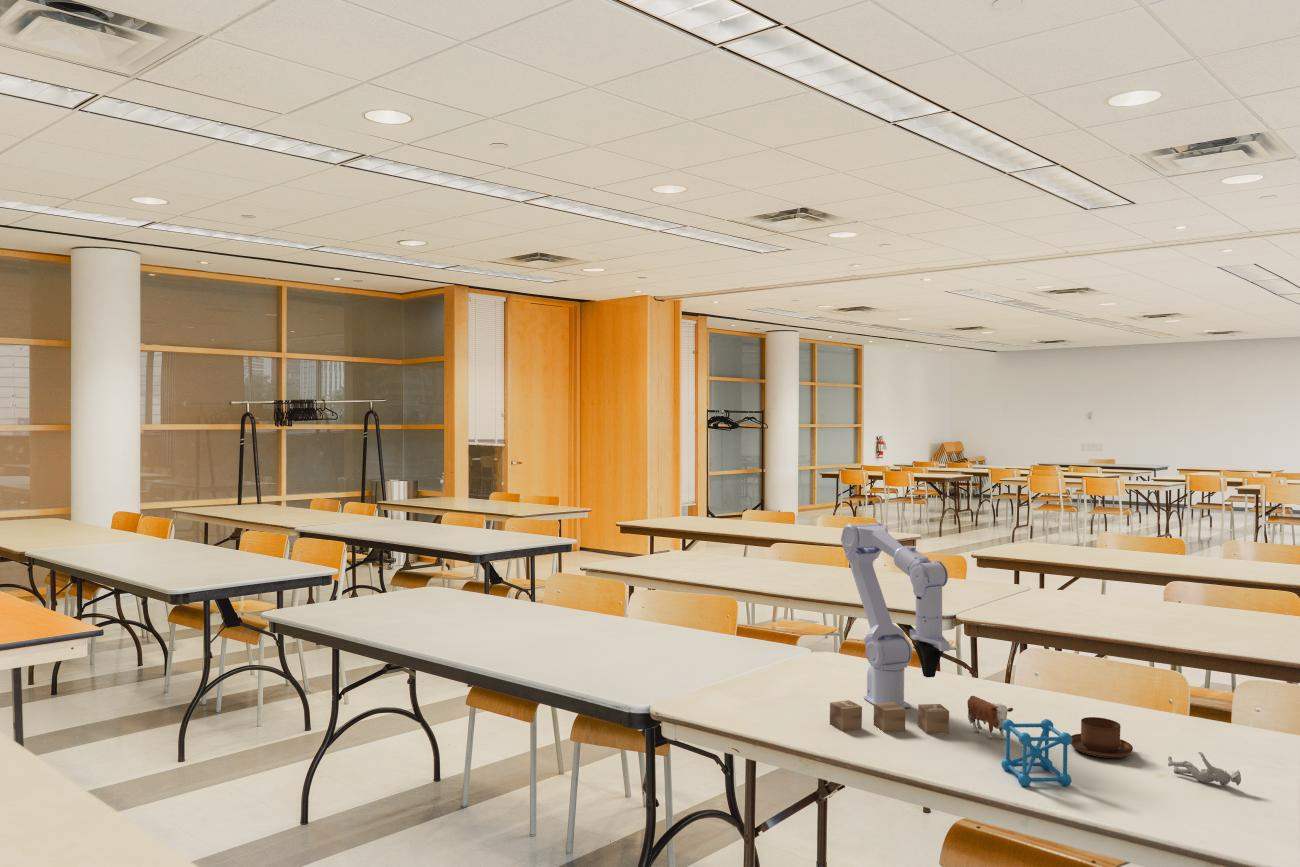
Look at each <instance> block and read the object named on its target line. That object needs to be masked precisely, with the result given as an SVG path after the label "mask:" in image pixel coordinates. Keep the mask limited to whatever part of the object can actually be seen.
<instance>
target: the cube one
mask: <svg viewBox="0 0 1300 867" xmlns="http://www.w3.org/2000/svg"><path fill="white" fill-rule="evenodd" d="M829 725H830V726H831V725H832V726H831V727H833V726H834V727H833V728H835V729H837V730H839V731H841V732H842V731H843V732H848V731H847V730H850V731H854V729H857V730H862V729H861V728H863V727H862V725H863V706H862V705H860V704H857V703H855V702H854V701H851V700H849V699H848V700H839V701H832V702H829Z"/></svg>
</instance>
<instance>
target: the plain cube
mask: <svg viewBox="0 0 1300 867" xmlns="http://www.w3.org/2000/svg"><path fill="white" fill-rule="evenodd" d="M873 726H874V727H875V726H876V727H875V728H877V729H878V728H879V729H880V730H879V729H878V730H879V731H881V730H882V731H883V732H882V731H881V732H882V733H883V734H885V733H886V732H889V733H899V732H900V733H901V731H902V732H906V708H903V707H902V706H900V705H898V704H897V703H895V702H888V703H874V705H873Z"/></svg>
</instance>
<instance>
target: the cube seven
mask: <svg viewBox="0 0 1300 867" xmlns="http://www.w3.org/2000/svg"><path fill="white" fill-rule="evenodd" d="M917 706H918V707H917V727H918V728H919V729H920V730H921V729H922V731H923V733H925V734H926V735H940V734H939V733H949V734H950V710H948V709H947V708H946V707H945V706H943V705H942V704H940V703H928V704H927V703H926V704H925V703H924V704H923V703H922V704H918V705H917Z"/></svg>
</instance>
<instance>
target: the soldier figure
mask: <svg viewBox="0 0 1300 867" xmlns="http://www.w3.org/2000/svg"><path fill="white" fill-rule="evenodd" d="M1197 754H1198V755H1200V757H1201V759H1202V761H1203V764H1204V765H1205V767H1206V768H1202V769H1200V770H1199V768H1198V767H1197V766H1195V765H1194V764H1193V763H1191V761H1187V760H1184V761H1173V760H1172V759H1173V758H1172V756H1168V758H1167V761H1168V762H1167V765H1168V767H1173V773H1175V774H1177V773H1181V774H1187V775H1192V776H1193V777H1194V778H1195V780H1196V781H1199V782H1200V783H1203V784H1207V783H1208V784H1209V783H1211V782H1216V783H1219V784H1220V785H1223V786H1225V785H1228V784H1229V783H1230V782H1232V783H1235V784H1236V786H1237V787H1239V785H1240V784H1241V782H1242V776H1241V775H1242V774H1241V772H1240V769H1237V770H1236V771H1233V772H1232V773H1231V771H1230V772H1229V773H1228V771H1227V770H1224V769H1222V768H1218V767H1215V766H1213V765H1212V764H1211V763H1210V762H1209V761H1208V760H1207V758H1206V757H1205V754H1204V753H1203V752H1201V751H1198V752H1197Z"/></svg>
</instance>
